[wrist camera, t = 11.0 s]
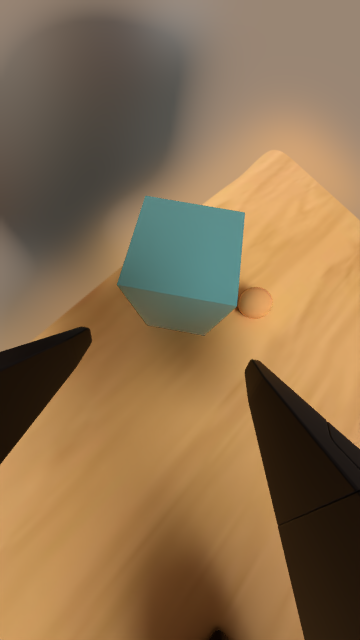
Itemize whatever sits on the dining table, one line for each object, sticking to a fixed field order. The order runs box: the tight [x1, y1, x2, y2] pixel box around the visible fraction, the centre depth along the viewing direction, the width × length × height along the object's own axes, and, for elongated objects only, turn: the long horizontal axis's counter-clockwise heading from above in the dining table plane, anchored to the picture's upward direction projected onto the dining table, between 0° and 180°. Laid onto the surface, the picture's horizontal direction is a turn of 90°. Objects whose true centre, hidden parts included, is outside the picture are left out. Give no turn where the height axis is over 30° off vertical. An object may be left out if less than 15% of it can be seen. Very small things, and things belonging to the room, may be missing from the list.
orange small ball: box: [238, 287, 273, 319], centre depth 17 cm, size 3×3×3 cm
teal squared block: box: [117, 196, 245, 335], centre depth 14 cm, size 7×7×10 cm
